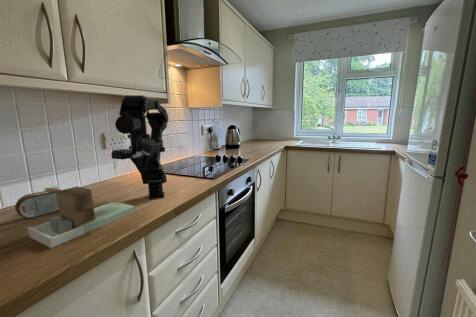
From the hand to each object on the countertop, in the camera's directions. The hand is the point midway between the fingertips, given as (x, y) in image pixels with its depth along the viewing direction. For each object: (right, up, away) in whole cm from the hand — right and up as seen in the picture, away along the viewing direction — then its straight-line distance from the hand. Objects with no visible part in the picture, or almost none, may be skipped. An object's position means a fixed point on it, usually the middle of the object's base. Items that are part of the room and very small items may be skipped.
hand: (142, 174), depth 87 cm
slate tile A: (-15, -14, -17) cm, 27 cm away
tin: (-35, -15, -1) cm, 38 cm away
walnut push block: (-15, -14, -12) cm, 24 cm away
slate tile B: (-19, -14, -14) cm, 28 cm away
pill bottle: (-37, -13, +6) cm, 40 cm away
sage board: (-12, -15, -6) cm, 20 cm away
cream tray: (-18, -17, -17) cm, 30 cm away
